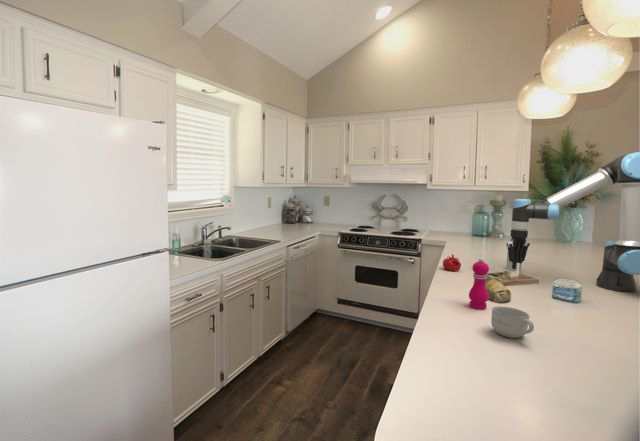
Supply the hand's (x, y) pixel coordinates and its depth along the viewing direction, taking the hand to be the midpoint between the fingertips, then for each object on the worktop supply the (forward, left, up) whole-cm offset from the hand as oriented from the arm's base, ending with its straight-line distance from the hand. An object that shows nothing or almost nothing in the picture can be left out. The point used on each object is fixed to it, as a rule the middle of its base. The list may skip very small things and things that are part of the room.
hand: (515, 275), depth 175 cm
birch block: (0, +3, -2) cm, 4 cm away
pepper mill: (-26, +46, -4) cm, 53 cm away
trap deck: (+3, +2, -4) cm, 5 cm away
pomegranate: (+28, +16, -4) cm, 33 cm away
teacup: (-51, +55, -4) cm, 75 cm away
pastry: (-18, +30, -4) cm, 35 cm away
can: (+20, -21, -4) cm, 29 cm away
